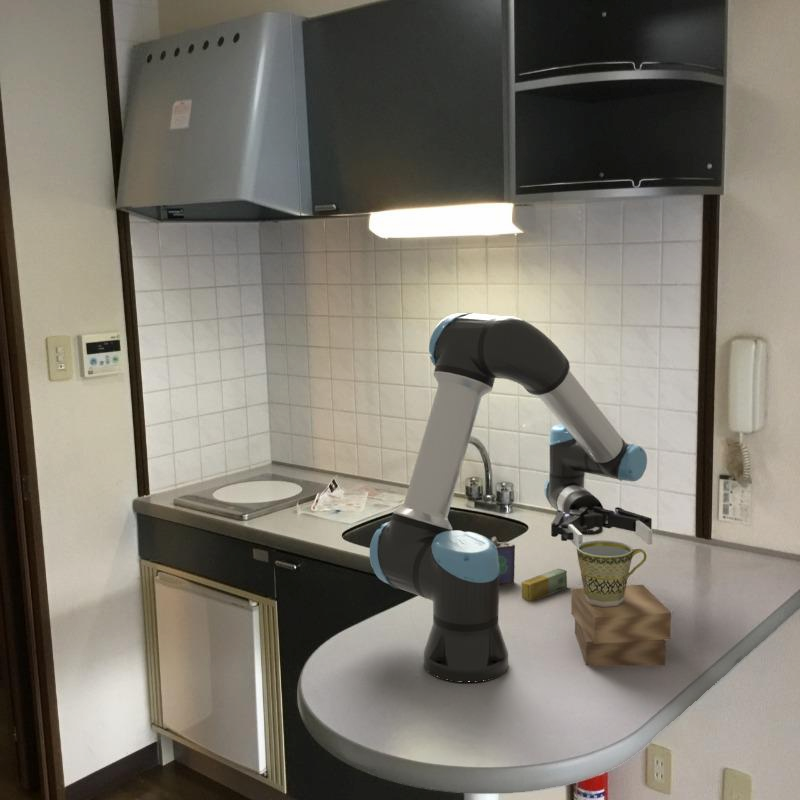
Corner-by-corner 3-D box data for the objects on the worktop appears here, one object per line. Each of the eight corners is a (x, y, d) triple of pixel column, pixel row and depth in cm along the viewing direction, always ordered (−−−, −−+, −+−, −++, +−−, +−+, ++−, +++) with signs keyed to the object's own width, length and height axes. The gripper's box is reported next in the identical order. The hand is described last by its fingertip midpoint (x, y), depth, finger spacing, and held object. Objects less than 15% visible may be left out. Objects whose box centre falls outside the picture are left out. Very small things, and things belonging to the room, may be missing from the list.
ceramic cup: (587, 612, 174) (587, 558, 172) (569, 593, 183) (569, 541, 182) (656, 607, 175) (657, 553, 174) (635, 588, 185) (636, 537, 184)
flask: (477, 589, 212) (477, 542, 210) (472, 585, 215) (472, 538, 213) (516, 584, 215) (516, 537, 213) (510, 579, 217) (511, 533, 216)
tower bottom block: (585, 667, 175) (586, 641, 174) (574, 635, 188) (575, 611, 187) (664, 668, 174) (665, 641, 173) (647, 635, 188) (648, 611, 187)
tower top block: (594, 644, 173) (594, 617, 172) (571, 613, 186) (571, 588, 185) (670, 639, 174) (671, 612, 173) (641, 609, 188) (642, 584, 187)
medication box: (558, 585, 214) (558, 567, 214) (567, 588, 212) (567, 570, 212) (521, 599, 207) (520, 581, 206) (530, 602, 205) (530, 584, 204)
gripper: (637, 522, 206) (678, 554, 185) (521, 528, 203) (550, 562, 182) (638, 487, 204) (679, 516, 184) (522, 493, 201) (551, 523, 181)
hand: (615, 539), depth 183 cm, fingers open, 13 cm apart
